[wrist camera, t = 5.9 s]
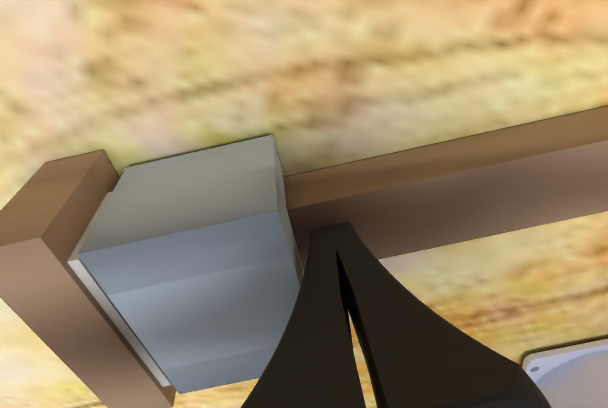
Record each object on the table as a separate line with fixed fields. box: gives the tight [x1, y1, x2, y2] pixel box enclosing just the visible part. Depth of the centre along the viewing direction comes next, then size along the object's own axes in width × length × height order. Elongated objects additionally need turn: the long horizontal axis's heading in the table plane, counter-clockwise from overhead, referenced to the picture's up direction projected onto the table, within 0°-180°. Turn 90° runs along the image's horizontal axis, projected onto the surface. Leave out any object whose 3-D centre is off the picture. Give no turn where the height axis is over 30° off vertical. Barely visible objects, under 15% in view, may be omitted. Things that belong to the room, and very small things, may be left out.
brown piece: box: [0, 106, 608, 408], centre depth 13 cm, size 8×22×4 cm, turn 101°
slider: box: [77, 135, 304, 394], centre depth 13 cm, size 7×5×4 cm
